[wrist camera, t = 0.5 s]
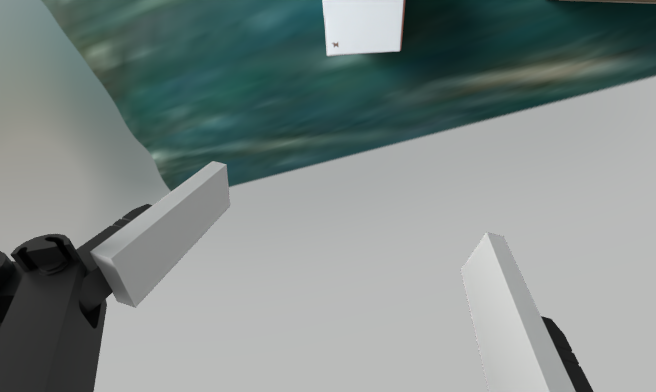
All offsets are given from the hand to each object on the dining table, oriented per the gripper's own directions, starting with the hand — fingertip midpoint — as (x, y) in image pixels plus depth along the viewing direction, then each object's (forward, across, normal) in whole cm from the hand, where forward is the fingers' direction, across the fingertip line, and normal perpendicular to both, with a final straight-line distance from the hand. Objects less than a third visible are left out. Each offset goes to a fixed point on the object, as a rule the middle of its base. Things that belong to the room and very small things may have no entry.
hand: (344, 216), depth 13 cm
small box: (+27, -3, +10) cm, 29 cm away
